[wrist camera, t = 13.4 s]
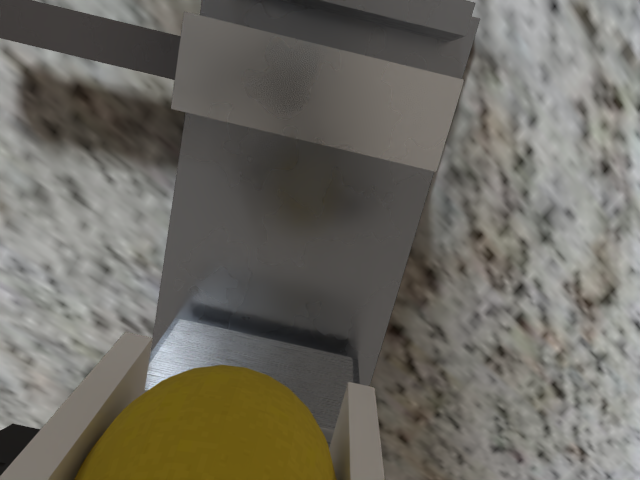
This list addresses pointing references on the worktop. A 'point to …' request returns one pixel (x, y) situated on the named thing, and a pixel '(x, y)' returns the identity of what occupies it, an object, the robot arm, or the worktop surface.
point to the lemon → (212, 432)
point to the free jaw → (263, 80)
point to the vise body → (298, 218)
